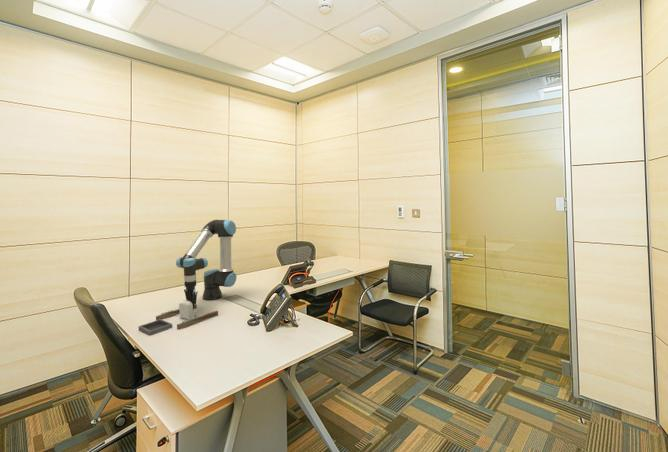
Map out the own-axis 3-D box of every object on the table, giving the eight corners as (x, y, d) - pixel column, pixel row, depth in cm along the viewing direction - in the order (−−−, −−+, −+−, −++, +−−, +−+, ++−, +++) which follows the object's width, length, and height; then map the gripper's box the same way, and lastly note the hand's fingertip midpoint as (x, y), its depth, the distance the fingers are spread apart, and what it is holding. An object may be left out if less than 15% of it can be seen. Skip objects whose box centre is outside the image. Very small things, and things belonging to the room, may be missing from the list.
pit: (138, 330, 204) (138, 326, 204) (160, 322, 216) (160, 319, 215) (150, 335, 196) (149, 331, 196) (172, 327, 208) (172, 323, 208)
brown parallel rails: (155, 320, 220) (155, 315, 219) (195, 307, 244) (195, 303, 244) (178, 329, 204) (178, 324, 204) (218, 315, 229) (218, 310, 228)
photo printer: (178, 317, 224) (177, 300, 223) (184, 315, 228) (183, 298, 227) (189, 320, 220) (188, 302, 219) (194, 318, 224) (193, 300, 222)
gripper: (179, 280, 225) (181, 313, 227) (190, 283, 218) (192, 317, 220) (189, 278, 231) (191, 310, 233) (200, 280, 224) (202, 313, 226)
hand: (191, 313), depth 227 cm, fingers closed
